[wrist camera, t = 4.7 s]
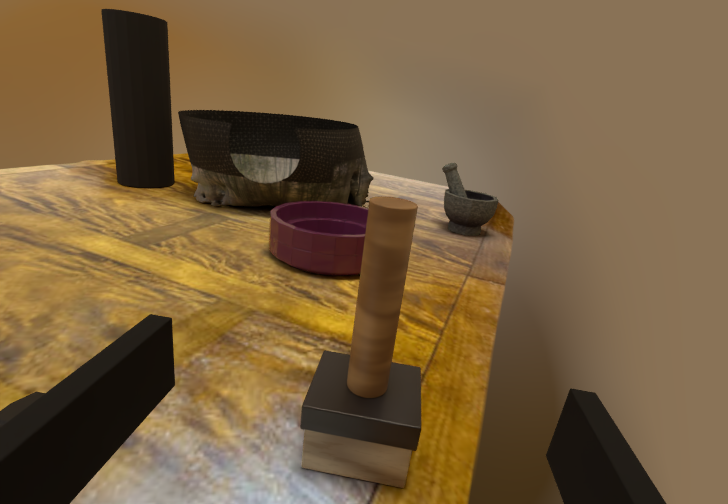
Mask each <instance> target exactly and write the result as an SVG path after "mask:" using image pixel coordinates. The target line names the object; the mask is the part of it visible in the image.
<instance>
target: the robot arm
mask: <svg viewBox="0 0 728 504" xmlns="http://www.w3.org/2000/svg"><path fill="white" fill-rule="evenodd" d="M174 386H175V375H174V354H173V333H172V318H169V317H163V316H157V315H152V314H150V315H149V316H147V317H146V318H145V319H143V320H142V321H141V322H139V323H138V324H137V325H135V326H134V327H133V328H131V329H130V330H129V331H127V332H126V333H125V334H123V335H122V336H121V337H120V338H118V339H117V340H116V341H114V342H113V343H112V344H110V345H109V346H108V347H106V348H105V349H104V350H102V351H101V352H100V353H98V354H97V355H96V356H94V357H93V358H92V359H90V360H89V361H88V362H86V363H85V364H84V365H82V366H81V367H80V368H78V369H77V370H76V371H74V372H73V373H72V374H70V375H69V376H68V377H67V378H65V379H64V380H63V381H61V382H60V383H59V384H57V385H56V386H55V387H53V388H52V389H51V390H49V391H48V392H47V393H40V392H35V393H33V394H30V395H28V396H26V397H24V398H22V399H19V400H17V401H15V402H13V403H11V404H9V405H8V406H7V407H5V408H4V409H2V410H1V411H0V504H70V503H71V501H72V500H73V499H74V498H75V497H76V496H77V495H78V494H79V492H80V491H81V490H82V489H83V488H84V487H85V486H86V485H87V483H88V482H89V481H90V480H91V479H92V478H93V477H94V476H95V474H96V473H97V472H98V471H99V470H100V469H101V468H102V467H103V465H104V464H105V463H106V462H107V461H108V460H109V459H110V458H111V456H112V455H113V454H114V453H115V452H116V451H117V450H118V449H119V447H120V446H121V445H122V444H123V443H124V442H125V441H126V440H127V438H128V437H129V436H130V435H131V434H132V433H133V432H134V431H135V429H136V428H137V427H138V426H139V425H140V424H141V423H142V422H143V420H144V419H145V418H146V417H147V416H148V415H149V414H150V413H151V411H152V410H153V409H154V408H155V407H156V406H157V405H158V404H159V402H160V401H161V400H162V399H163V398H164V397H165V396H166V395H167V393H168V392H169V391H170V390H171V389H172V388H173V387H174ZM546 456H547V460H548V462H549V465H550V467H551V470H552V473H553V475H554V478H555V481H556V483H557V486H558V489H559V491H560V494H561V497H562V499H563V502H564V504H666V503H665V501H664V499H663V498H662V496H661V495H660V493H659V492H658V490H657V488H656V487H655V485H654V484H653V482H652V481H651V479H650V478H649V476H648V474H647V473H646V471H645V470H644V468H643V467H642V465H641V463H640V462H639V460H638V459H637V458H636V456H635V454H634V452H633V451H632V450H631V448H630V446H629V445H628V443H627V442H626V440H625V438H624V437H623V435H622V434H621V432H620V431H619V429H618V427H617V426H616V424H615V423H614V421H613V420H612V418H611V416H610V415H609V413H608V412H607V410H606V409H605V407H604V406H603V404H602V402H601V401H600V399H599V398H598V396H597V395H596V393H593V392H587V391H582V390H576V389H570V391H569V393H568V396H567V399H566V402H565V405H564V407H563V410H562V413H561V415H560V418H559V421H558V424H557V427H556V429H555V432H554V435H553V438H552V441H551V443H550V446H549V449H548V451H547V454H546Z"/></svg>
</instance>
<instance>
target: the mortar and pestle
mask: <svg viewBox="0 0 728 504" xmlns="http://www.w3.org/2000/svg"><path fill="white" fill-rule="evenodd" d="M443 172H444V173H445V175H446V179H447V183H448V187H449V189H448V190H446V191H445V196H444V209H445V212H446V215H447V217H448V218H449V220H450V221H449V224H448V229H449V230H451V231H452V232H455V233H459V234H463V235H471V236H476V235H480V232H481V226H482V225H483V224H485V223H487V222H488V221H489V220H490V219H491V218H492V216H493V215H494V213H495V210H496V208H497V204H498V199H497V198H496V197H494V196H491V195H488V194H485V193H480V192H475V191H470V190H464V187H463V185H462V182H461V180H460V177H459V174H458V172H457V164H456V163H450V164H448V165H445V166H444V167H443Z"/></svg>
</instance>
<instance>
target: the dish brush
mask: <svg viewBox="0 0 728 504" xmlns="http://www.w3.org/2000/svg"><path fill="white" fill-rule="evenodd" d="M417 208H418V206H417V204H415V203H413V202H411V201H408V200H404V199H400V198H394V197H373V198H371V199H370V201H369V209H368V217H367V225H366V233H365V241H364V249H363V257H362V265H361V273H360V281H359V289H358V297H357V305H356V313H355V321H354V329H353V337H352V345H351V352H350V355H348V354H342V353H336V352H331V351H324V352H323V354H322V357H321V359H320V362H319V365H318V367H317V370H316V372H315V375H314V377H313V380H312V382H311V385H310V387H309V390H308V392H307V395H306V397H305V400H304V403H303V405H302V413H301V425H300V427H301V429H304V441H303V453H302V465H301V466H302V468H306V469H311V470H316V471H321V472H326V473H331V474H336V475H341V476H346V477H351V478H355V479H360V480H365V481H370V482H375V483H380V484H385V485H390V486H395V487H400V488H404V487H405V483H406V478H407V473H408V468H409V463H410V459H411V454H412V450H413V451H416V450H417V446H418V442H419V437H420V432H421V368H420V367H416V366H410V365H404V364H399V363H393V362H392V357H393V351H394V345H395V339H396V333H397V327H398V321H399V315H400V309H401V303H402V297H403V291H404V285H405V279H406V273H407V267H408V261H409V255H410V249H411V243H412V237H413V231H414V225H415V220H416V214H417Z"/></svg>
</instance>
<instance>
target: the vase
mask: <svg viewBox="0 0 728 504" xmlns="http://www.w3.org/2000/svg"><path fill="white" fill-rule="evenodd" d="M102 21H103V32H104V43H105V53H106V63H107V75H108V85H109V96H110V106H111V117H112V127H113V138H114V149H115V160H116V170H117V181H118V183H119V184H121V185H124V186H129V187H137V188H160V187H167V186H171V185H173V184H174V161H173V140H172V119H171V96H170V73H169V51H168V29H167V22H166V21H165V20H162V19H159V18H156V17H152V16H149V15H144V14H140V13H134V12H129V11H122V10H114V9H102Z"/></svg>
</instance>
